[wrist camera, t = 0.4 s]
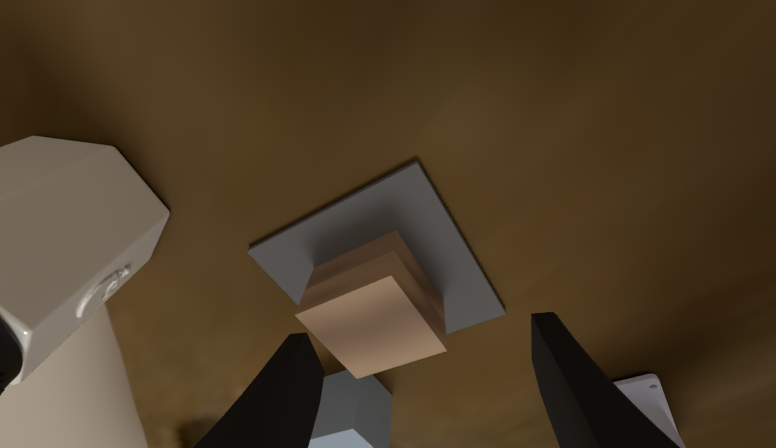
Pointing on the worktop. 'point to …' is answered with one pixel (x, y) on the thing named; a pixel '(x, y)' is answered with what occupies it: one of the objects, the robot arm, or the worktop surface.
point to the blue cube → (352, 413)
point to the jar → (65, 241)
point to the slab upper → (373, 317)
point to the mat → (375, 219)
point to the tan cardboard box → (374, 251)
